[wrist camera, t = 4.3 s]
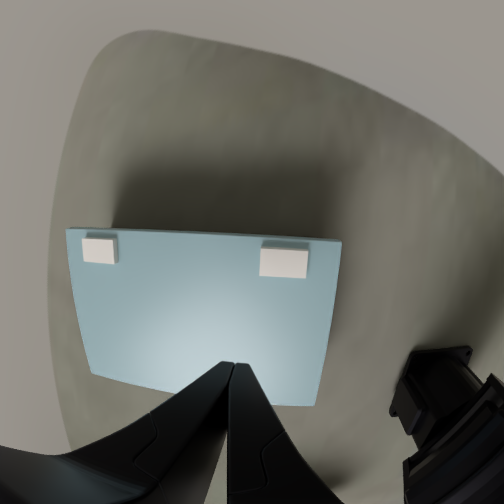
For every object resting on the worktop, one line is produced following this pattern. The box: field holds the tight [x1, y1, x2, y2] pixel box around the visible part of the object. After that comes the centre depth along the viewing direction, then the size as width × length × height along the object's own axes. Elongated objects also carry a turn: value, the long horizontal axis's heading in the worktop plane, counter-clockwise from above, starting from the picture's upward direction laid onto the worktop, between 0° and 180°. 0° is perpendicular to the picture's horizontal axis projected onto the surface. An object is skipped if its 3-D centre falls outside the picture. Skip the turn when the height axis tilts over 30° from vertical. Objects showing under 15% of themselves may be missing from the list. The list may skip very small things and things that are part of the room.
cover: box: [66, 227, 342, 406], centre depth 14 cm, size 14×9×1 cm
